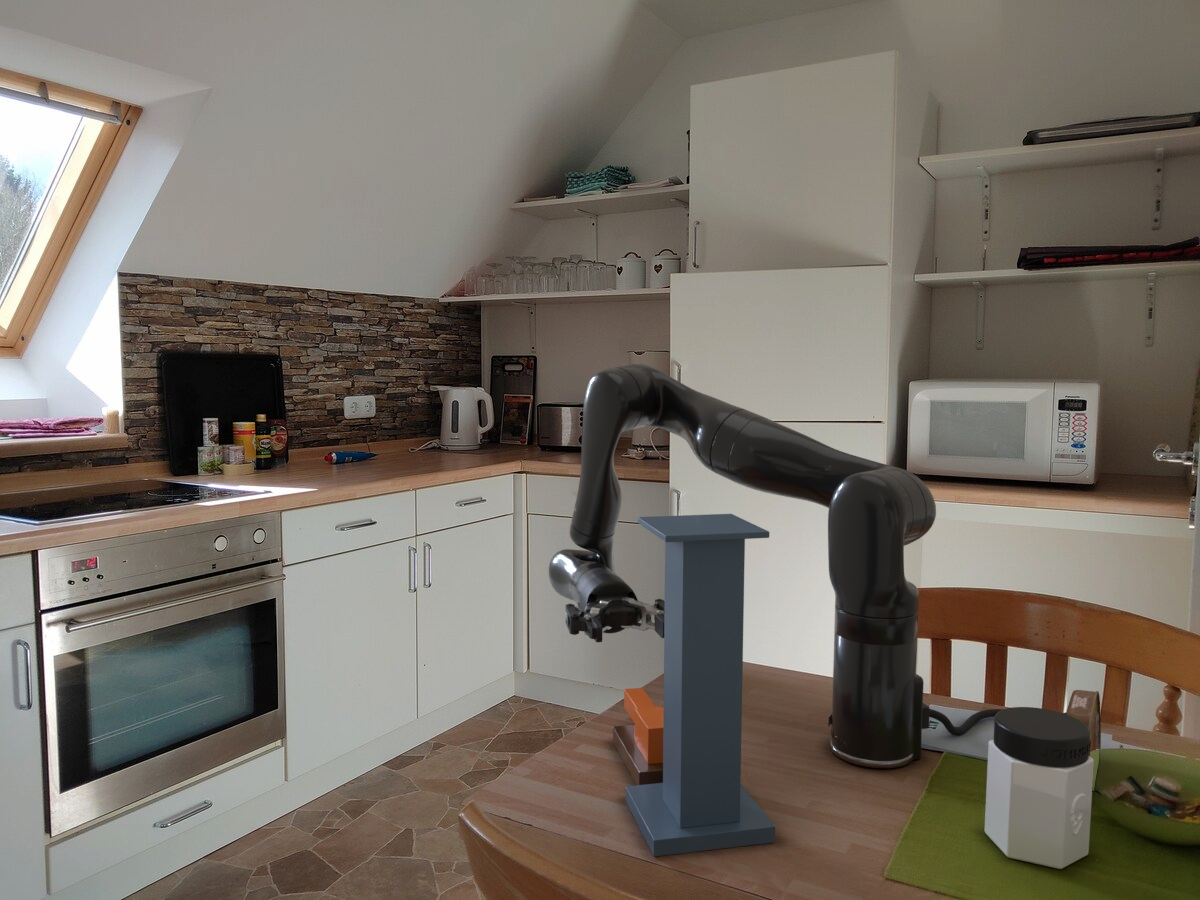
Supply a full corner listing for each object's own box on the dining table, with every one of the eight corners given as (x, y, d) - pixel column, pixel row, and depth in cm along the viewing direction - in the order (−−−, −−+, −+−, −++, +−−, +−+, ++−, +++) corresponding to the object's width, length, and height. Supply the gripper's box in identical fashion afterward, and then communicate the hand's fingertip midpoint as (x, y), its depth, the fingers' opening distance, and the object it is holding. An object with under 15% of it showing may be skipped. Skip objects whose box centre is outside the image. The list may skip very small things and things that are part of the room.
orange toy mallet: (652, 704, 117) (652, 674, 117) (692, 760, 101) (692, 725, 101) (613, 708, 116) (614, 677, 116) (648, 764, 100) (648, 728, 100)
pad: (684, 736, 112) (684, 720, 112) (719, 782, 100) (719, 764, 100) (612, 742, 111) (612, 726, 110) (639, 790, 98) (639, 772, 98)
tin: (1091, 805, 95) (1096, 726, 94) (1057, 797, 97) (1061, 720, 96) (1102, 752, 108) (1106, 682, 107) (1072, 746, 110) (1075, 677, 109)
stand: (734, 789, 99) (739, 512, 96) (775, 842, 88) (782, 532, 85) (625, 801, 96) (626, 516, 93) (653, 856, 85) (656, 537, 82)
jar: (1049, 879, 82) (1056, 749, 81) (968, 839, 88) (974, 718, 87) (1103, 850, 87) (1111, 726, 85) (1023, 814, 93) (1028, 699, 92)
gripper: (555, 575, 130) (577, 606, 114) (653, 571, 133) (687, 600, 117) (555, 627, 130) (577, 665, 115) (652, 621, 133) (686, 657, 118)
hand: (633, 632), depth 116 cm, fingers open, 8 cm apart
